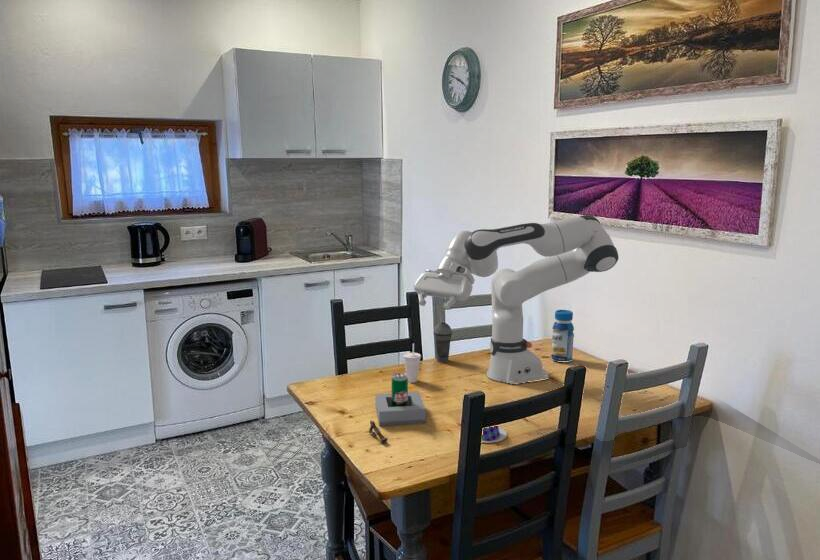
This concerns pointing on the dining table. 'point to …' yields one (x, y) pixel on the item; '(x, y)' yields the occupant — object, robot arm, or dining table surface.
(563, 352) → the beverage bottle
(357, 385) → the dining table surface
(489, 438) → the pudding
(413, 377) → the smoothie
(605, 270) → the robot arm
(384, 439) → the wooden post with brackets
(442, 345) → the beverage cup
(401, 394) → the soda can
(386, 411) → the block
